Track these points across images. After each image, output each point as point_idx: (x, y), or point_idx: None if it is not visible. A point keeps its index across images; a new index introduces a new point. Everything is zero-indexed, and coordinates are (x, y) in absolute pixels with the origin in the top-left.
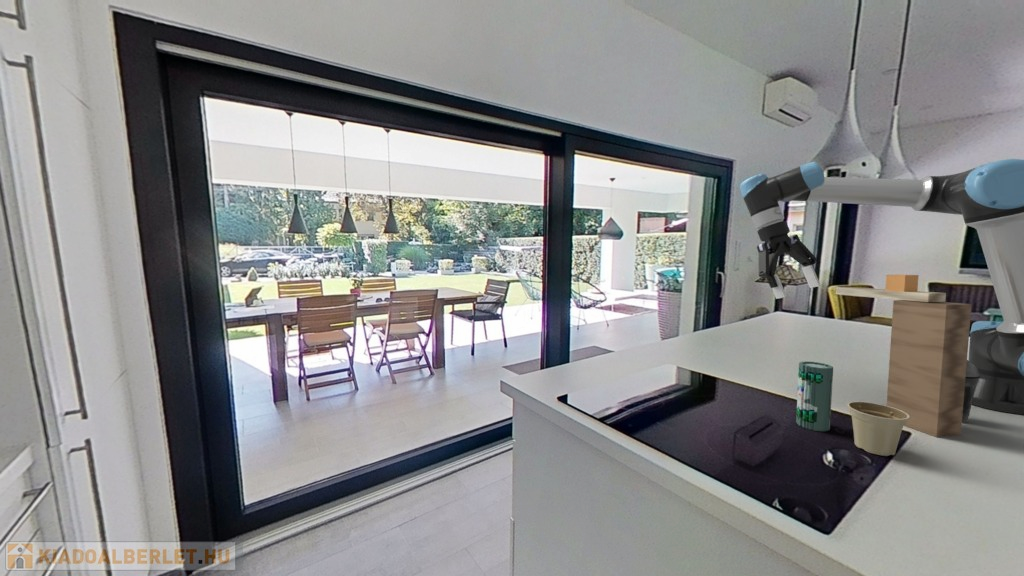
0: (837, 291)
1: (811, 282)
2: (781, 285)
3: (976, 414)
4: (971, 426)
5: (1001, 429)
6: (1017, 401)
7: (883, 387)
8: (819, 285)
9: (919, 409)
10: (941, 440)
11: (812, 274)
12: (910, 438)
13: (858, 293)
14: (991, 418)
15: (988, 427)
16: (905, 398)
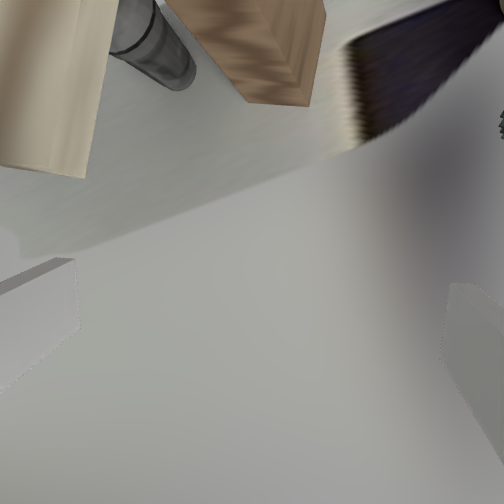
0: (72, 162)
1: (54, 317)
2: (501, 324)
3: (112, 78)
4: (195, 39)
5: (165, 18)
6: None
7: (80, 241)
8: (65, 259)
9: (311, 19)
10: (335, 3)
11: (5, 307)
12: (385, 21)
13: (101, 28)
14: (114, 58)
15: (173, 29)
16: (302, 39)
